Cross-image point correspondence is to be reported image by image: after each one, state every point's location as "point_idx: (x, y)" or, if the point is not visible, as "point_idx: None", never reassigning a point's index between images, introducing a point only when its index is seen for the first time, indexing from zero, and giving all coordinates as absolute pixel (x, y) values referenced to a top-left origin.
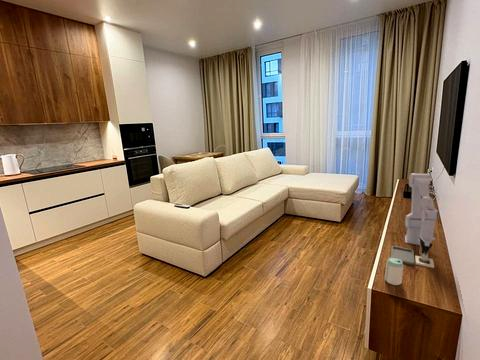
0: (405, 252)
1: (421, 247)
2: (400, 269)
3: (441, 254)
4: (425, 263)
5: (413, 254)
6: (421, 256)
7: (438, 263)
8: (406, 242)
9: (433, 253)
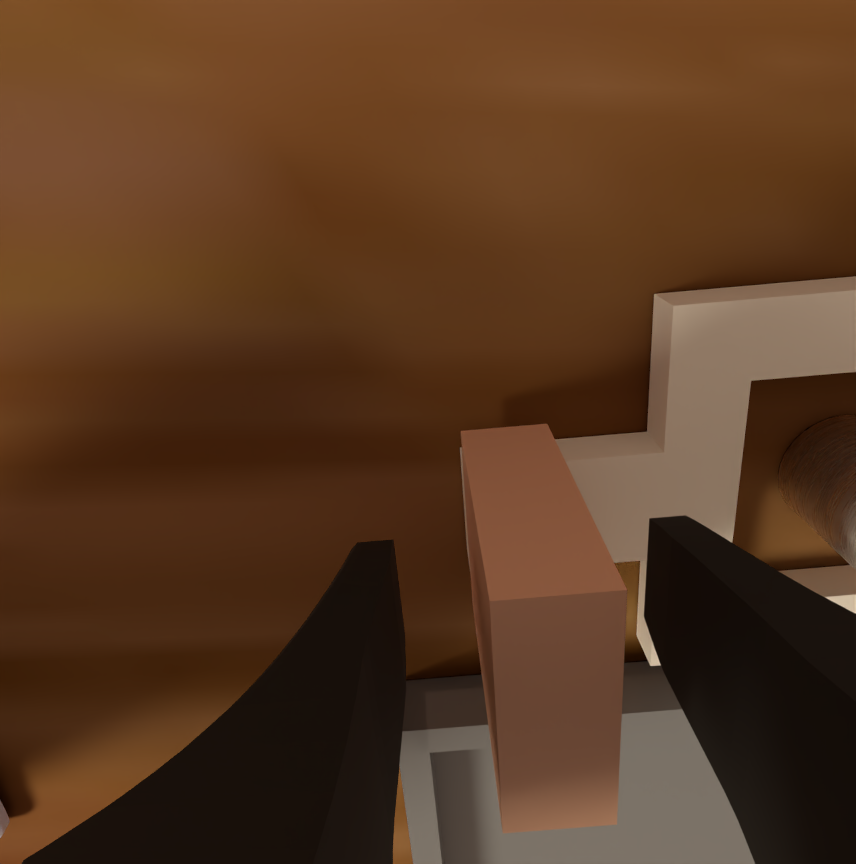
0: None
1: (606, 773)
2: None
3: (55, 24)
4: None
5: (664, 713)
6: (641, 554)
7: (763, 135)
8: (3, 817)
9: (158, 264)
